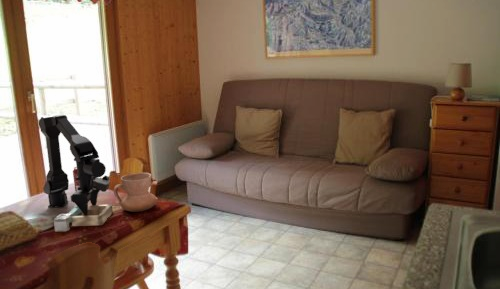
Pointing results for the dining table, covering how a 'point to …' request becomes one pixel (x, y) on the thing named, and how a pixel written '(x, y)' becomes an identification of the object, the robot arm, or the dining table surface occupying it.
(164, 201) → the dining table surface
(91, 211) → the light wood block
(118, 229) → the dining table surface
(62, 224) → the grey hooked piece
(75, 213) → the link
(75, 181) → the soda can
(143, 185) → the ceramic jug
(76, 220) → the cream c-clamp frame
